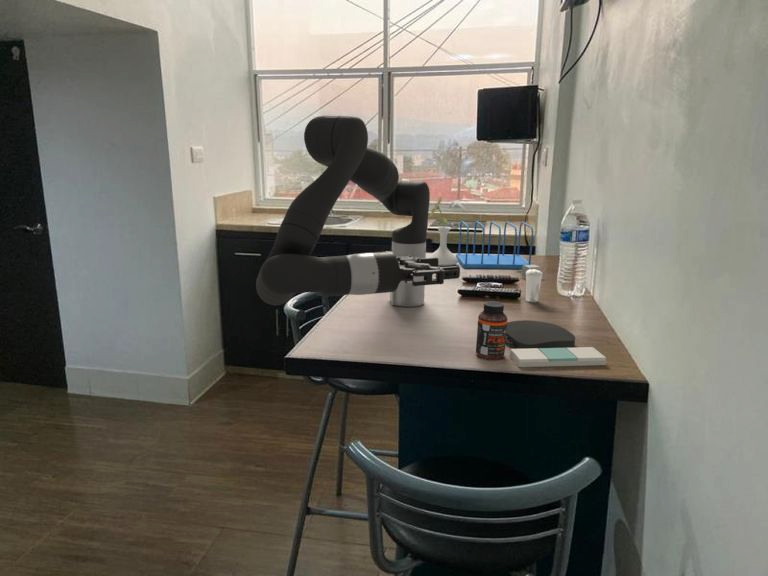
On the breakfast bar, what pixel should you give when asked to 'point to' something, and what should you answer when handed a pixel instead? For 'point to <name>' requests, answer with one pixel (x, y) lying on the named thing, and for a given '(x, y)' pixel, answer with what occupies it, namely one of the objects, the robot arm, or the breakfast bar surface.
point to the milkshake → (533, 284)
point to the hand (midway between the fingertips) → (447, 267)
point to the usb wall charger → (527, 267)
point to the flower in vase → (443, 242)
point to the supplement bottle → (491, 331)
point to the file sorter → (493, 260)
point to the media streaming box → (537, 335)
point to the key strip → (557, 357)
